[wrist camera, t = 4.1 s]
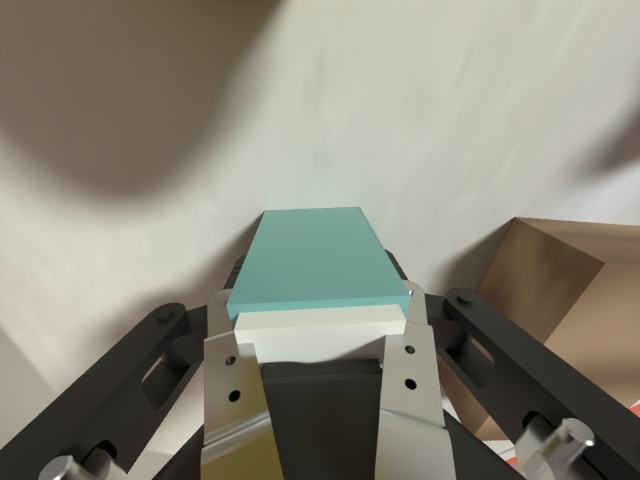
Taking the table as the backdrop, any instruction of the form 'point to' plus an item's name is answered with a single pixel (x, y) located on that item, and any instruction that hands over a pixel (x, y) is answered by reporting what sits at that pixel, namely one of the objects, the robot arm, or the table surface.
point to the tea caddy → (317, 290)
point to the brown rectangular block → (565, 306)
